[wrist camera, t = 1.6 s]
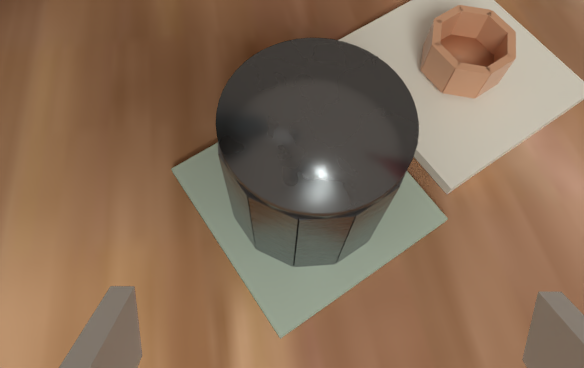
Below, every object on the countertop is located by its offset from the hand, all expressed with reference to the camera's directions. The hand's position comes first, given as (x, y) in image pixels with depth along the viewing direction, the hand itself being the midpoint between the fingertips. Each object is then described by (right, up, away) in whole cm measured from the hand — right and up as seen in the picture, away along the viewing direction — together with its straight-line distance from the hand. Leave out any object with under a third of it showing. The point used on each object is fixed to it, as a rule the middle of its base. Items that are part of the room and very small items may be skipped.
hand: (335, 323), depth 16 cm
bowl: (+12, +14, +22) cm, 29 cm away
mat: (0, +4, +19) cm, 19 cm away
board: (+12, +13, +23) cm, 29 cm away
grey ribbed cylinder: (0, +4, +18) cm, 18 cm away
